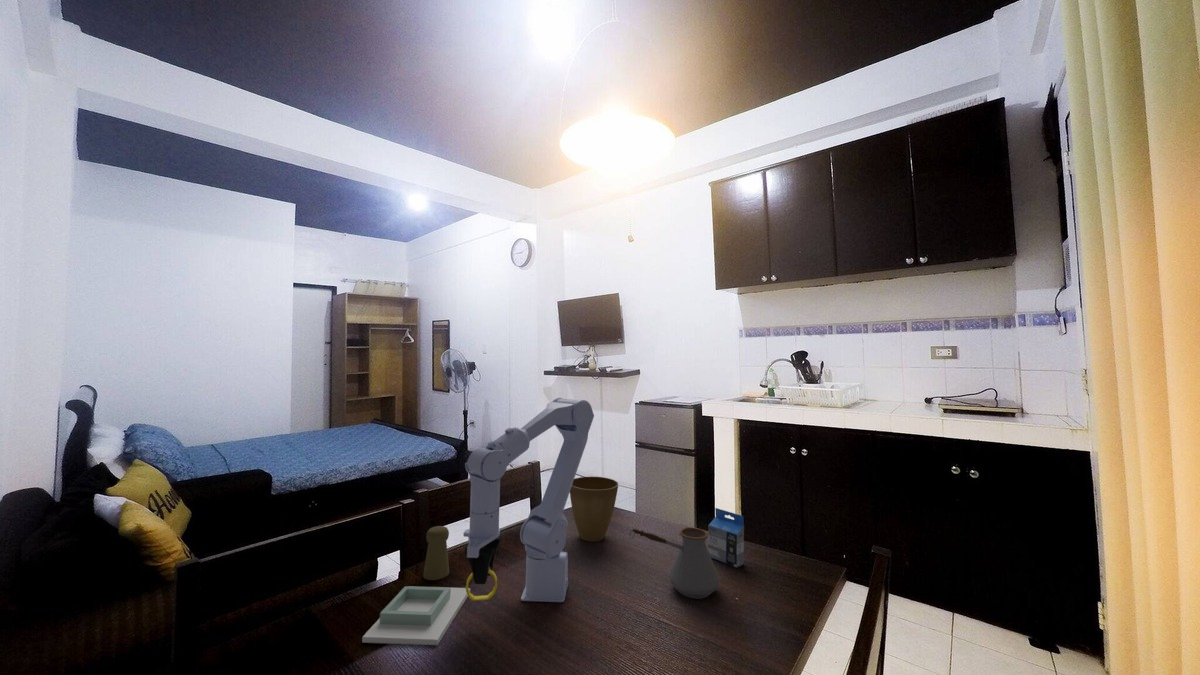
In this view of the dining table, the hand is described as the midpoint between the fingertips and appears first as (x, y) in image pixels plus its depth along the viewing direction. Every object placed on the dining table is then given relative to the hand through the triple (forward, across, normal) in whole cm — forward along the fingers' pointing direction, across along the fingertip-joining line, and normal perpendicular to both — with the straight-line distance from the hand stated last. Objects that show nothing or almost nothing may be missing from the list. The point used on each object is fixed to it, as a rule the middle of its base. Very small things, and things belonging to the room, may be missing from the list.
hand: (482, 578), depth 86 cm
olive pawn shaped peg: (+9, -19, -17) cm, 27 cm away
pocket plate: (+8, -2, -13) cm, 16 cm away
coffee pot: (+9, -14, +40) cm, 43 cm away
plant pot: (+9, -44, +20) cm, 49 cm away
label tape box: (+9, -31, +56) cm, 65 cm away
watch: (+4, 0, 0) cm, 4 cm away
